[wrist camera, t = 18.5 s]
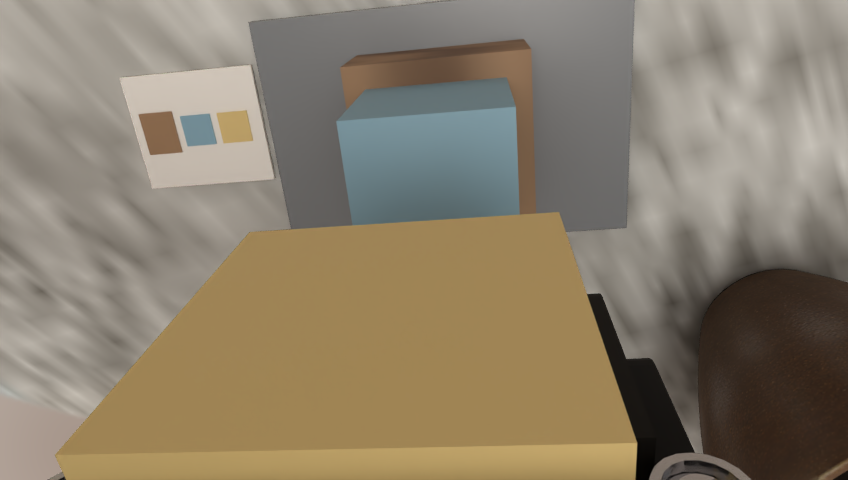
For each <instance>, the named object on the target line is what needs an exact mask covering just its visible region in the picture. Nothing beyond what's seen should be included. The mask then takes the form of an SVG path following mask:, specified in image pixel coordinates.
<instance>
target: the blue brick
mask: <svg viewBox="0 0 848 480" xmlns="http://www.w3.org/2000/svg"><path fill="white" fill-rule="evenodd" d="M336 123H337V129H338V136H339V142H340V149H341V155H342V161H343V168H344V174H345V181H346V187H347V193H348V200H349V206H350V213H351V219H352V225H367V224H383V223H398V222H413V221H429V220H444V219H460V218H475V217H491V216H506V215H520V210H519V181H518V153H517V124H516V106H515V102H514V99H513V96H512V93H511V90H510V86H509V83H508V80H507V77H504V78H492V79H481V80H469V81H458V82H446V83H434V84H423V85H411V86H400V87H388V88H376V89H365V90H364V92H363V93H362V94H361V95H360V96H359V97H358V98H357V99H356V100H355V101H354V102H353V104H352V105H351V106H350V107H349V108H348V109H347V110H346V111H345V112H344V113H343V114H342V116H341V117H340V118H339V119H338V120H337V121H336Z"/></svg>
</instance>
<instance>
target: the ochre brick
mask: <svg viewBox="0 0 848 480" xmlns="http://www.w3.org/2000/svg"><path fill="white" fill-rule="evenodd" d="M55 456H56V458H57V461H58V463H59V465H60V468H61V470H62V472H63V474H64V476H65V479H66V480H635V477H636V458H637V441H636V438H635V435H634V432H633V429H632V426H631V423H630V420H629V417H628V414H627V411H626V408H625V405H624V402H623V399H622V397H621V394H620V391H619V388H618V385H617V382H616V379H615V376H614V373H613V370H612V367H611V364H610V361H609V358H608V355H607V352H606V349H605V346H604V343H603V340H602V337H601V335H600V332H599V329H598V326H597V323H596V320H595V317H594V314H593V311H592V308H591V305H590V302H589V299H588V296H587V293H586V290H585V287H584V284H583V281H582V278H581V275H580V273H579V270H578V267H577V264H576V261H575V258H574V255H573V252H572V249H571V246H570V243H569V240H568V237H567V234H566V231H565V228H564V225H563V222H562V219H561V216H560V213H559V212H552V213H537V214H521V215H506V216H491V217H475V218H460V219H444V220H429V221H413V222H398V223H383V224H367V225H352V226H336V227H321V228H305V229H290V230H275V231H259V232H249V233H248V235H247V236H246V237H245V238H244V239H243V240H242V241H241V243H240V244H239V245H238V246H237V247H236V248H235V249H234V251H233V252H232V253H231V254H230V255H229V256H228V258H227V259H226V260H225V261H224V262H223V263H222V264H221V266H220V267H219V268H218V269H217V270H216V271H215V272H214V274H213V275H212V276H211V277H210V278H209V279H208V280H207V282H206V283H205V284H204V285H203V286H202V287H201V288H200V290H199V291H198V292H197V293H196V294H195V295H194V296H193V298H192V299H191V300H190V301H189V302H188V303H187V304H186V306H185V307H184V308H183V309H182V310H181V311H180V312H179V314H178V315H177V316H176V317H175V318H174V319H173V320H172V322H171V323H170V324H169V325H168V326H167V327H166V329H165V330H164V331H163V332H162V333H161V334H160V335H159V337H158V338H157V339H156V340H155V341H154V342H153V343H152V345H151V346H150V347H149V348H148V349H147V350H146V351H145V353H144V354H143V355H142V356H141V357H140V358H139V359H138V361H137V362H136V363H135V364H134V365H133V366H132V367H131V369H130V370H129V371H128V372H127V373H126V374H125V375H124V377H123V378H122V379H121V380H120V381H119V382H118V383H117V385H116V386H115V387H114V388H113V389H112V390H111V391H110V393H109V394H108V395H107V396H106V397H105V398H104V400H103V401H102V402H101V403H100V404H99V405H98V406H97V408H96V409H95V410H94V411H93V412H92V413H91V414H90V416H89V417H88V418H87V419H86V420H85V421H84V422H83V424H82V425H81V426H80V427H79V428H78V429H77V430H76V432H75V433H74V434H73V435H72V436H71V437H70V438H69V440H68V441H67V442H66V443H65V444H64V445H63V446H62V448H61V449H60V450H59V451H58V452H57V453H56V455H55Z"/></svg>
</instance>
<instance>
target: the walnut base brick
mask: <svg viewBox="0 0 848 480" xmlns="http://www.w3.org/2000/svg"><path fill="white" fill-rule="evenodd" d="M340 71H341V77H342V84H343V90H344V97H345V103H346V110H347V109H348V108H349V107H350V106H351V105H352V104H353V102H354V101H355V100H356V99H357V98H358V97H359V96H360V95H361V94H362V93H363V92H364V90H365V89H376V88H388V87H400V86H411V85H423V84H434V83H446V82H458V81H469V80H481V79H492V78H504V77H507V80H508V83H509V86H510V90H511V93H512V96H513V99H514V102H515V106H516V124H517V153H518V181H519V210H520V215H521V214H536V192H535V158H534V124H533V90H532V57H531V48H530V47H529V45H528V44H527V43H526V41H525V40H524V39H518V40H508V41H498V42H487V43H477V44H467V45H457V46H447V47H437V48H427V49H417V50H406V51H396V52H386V53H376V54H366V55H357V56H355V57H354V58H352V59H351V60H350V61H348V62H347V63H345V64H344V65H343V66H341V67H340Z"/></svg>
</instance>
